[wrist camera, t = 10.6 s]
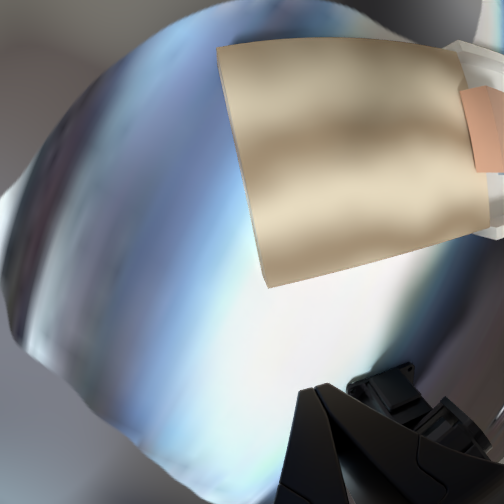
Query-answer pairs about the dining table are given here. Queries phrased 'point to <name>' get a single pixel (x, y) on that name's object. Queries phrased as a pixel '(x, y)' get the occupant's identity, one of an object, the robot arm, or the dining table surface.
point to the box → (499, 77)
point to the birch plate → (350, 151)
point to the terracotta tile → (485, 127)
